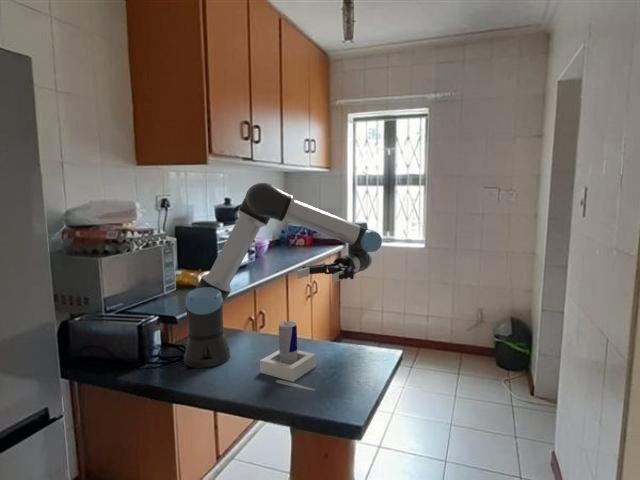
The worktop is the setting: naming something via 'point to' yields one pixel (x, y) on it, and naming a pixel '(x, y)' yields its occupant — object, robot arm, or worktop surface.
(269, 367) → the socket block
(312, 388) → the butter knife
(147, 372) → the worktop surface
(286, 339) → the beverage can
